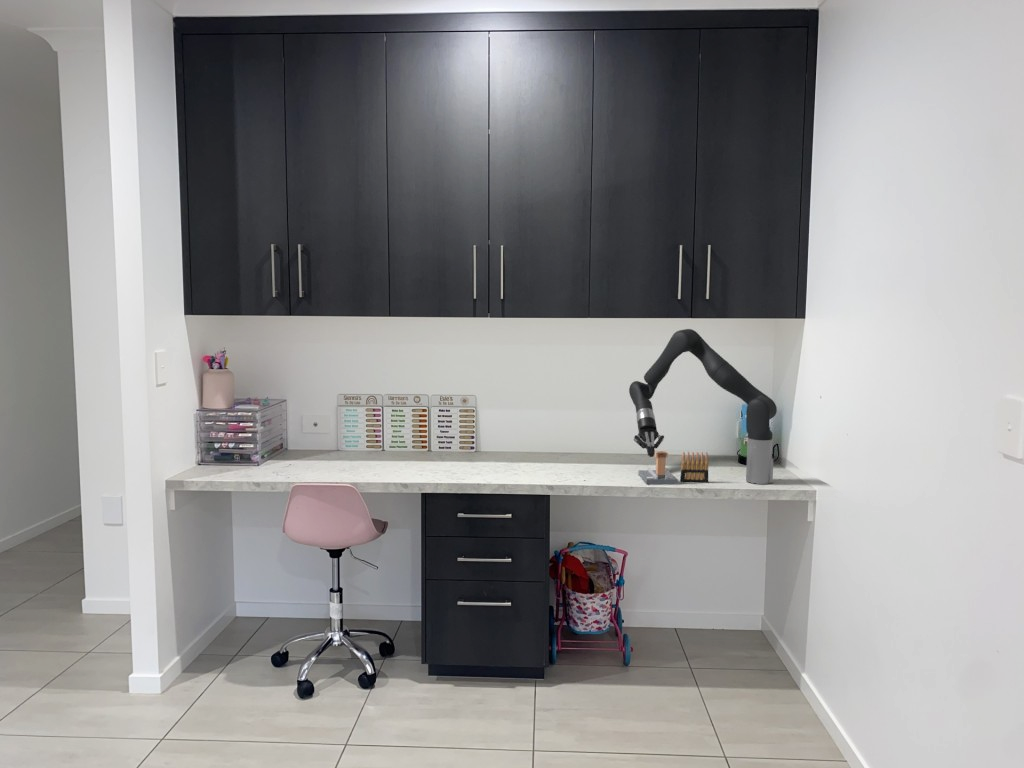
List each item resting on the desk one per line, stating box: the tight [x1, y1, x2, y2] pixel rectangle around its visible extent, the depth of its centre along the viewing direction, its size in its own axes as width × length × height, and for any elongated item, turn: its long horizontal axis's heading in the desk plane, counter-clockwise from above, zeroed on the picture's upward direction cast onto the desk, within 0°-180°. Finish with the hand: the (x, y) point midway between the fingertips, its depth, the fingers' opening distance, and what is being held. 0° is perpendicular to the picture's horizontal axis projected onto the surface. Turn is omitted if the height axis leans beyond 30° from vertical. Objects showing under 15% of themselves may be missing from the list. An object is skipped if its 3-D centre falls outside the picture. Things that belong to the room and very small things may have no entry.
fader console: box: [638, 467, 679, 485], centre depth 315 cm, size 12×16×3 cm
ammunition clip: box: [679, 451, 709, 484], centre depth 311 cm, size 11×2×12 cm, turn 86°
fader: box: [654, 450, 669, 478], centre depth 309 cm, size 4×3×10 cm
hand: (651, 455), depth 325 cm, fingers closed
